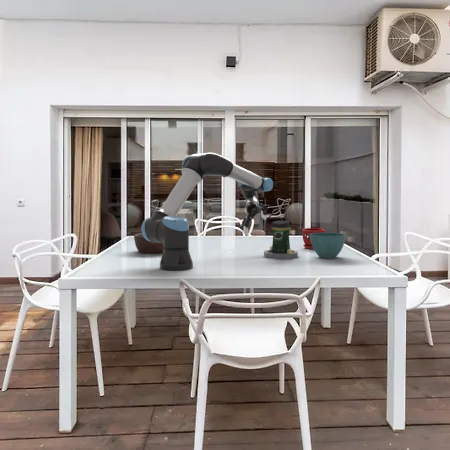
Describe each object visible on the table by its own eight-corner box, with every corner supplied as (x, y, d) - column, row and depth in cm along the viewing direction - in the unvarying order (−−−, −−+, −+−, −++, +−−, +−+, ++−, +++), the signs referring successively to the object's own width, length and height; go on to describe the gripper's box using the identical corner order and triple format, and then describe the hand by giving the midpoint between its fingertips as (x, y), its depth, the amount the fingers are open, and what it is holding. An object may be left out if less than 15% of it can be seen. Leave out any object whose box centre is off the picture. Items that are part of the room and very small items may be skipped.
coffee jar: (292, 254, 216) (292, 220, 215) (286, 256, 209) (286, 221, 208) (276, 253, 221) (276, 219, 220) (269, 255, 215) (269, 220, 213)
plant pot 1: (297, 247, 247) (298, 228, 246) (314, 246, 253) (314, 227, 252) (311, 250, 236) (312, 230, 235) (328, 248, 242) (329, 229, 241)
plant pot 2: (305, 258, 207) (305, 235, 206) (314, 253, 223) (315, 231, 222) (341, 261, 199) (341, 236, 198) (348, 255, 215) (348, 233, 214)
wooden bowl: (130, 250, 243) (129, 233, 242) (170, 247, 253) (169, 231, 252) (139, 256, 220) (139, 237, 219) (183, 253, 230) (182, 235, 230)
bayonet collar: (295, 259, 204) (295, 250, 204) (261, 258, 210) (261, 249, 209) (299, 254, 221) (299, 246, 221) (268, 253, 226) (268, 245, 226)
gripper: (272, 196, 231) (276, 215, 214) (242, 223, 241) (243, 243, 224) (263, 188, 229) (266, 207, 211) (233, 216, 239) (234, 236, 221)
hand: (254, 226), depth 217 cm, fingers open, 13 cm apart
